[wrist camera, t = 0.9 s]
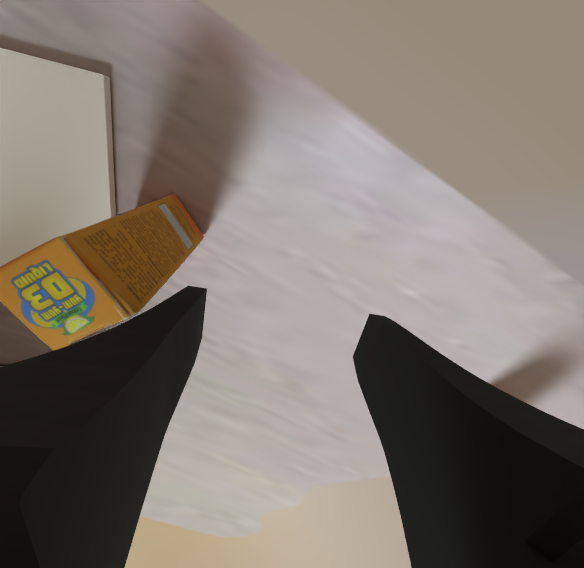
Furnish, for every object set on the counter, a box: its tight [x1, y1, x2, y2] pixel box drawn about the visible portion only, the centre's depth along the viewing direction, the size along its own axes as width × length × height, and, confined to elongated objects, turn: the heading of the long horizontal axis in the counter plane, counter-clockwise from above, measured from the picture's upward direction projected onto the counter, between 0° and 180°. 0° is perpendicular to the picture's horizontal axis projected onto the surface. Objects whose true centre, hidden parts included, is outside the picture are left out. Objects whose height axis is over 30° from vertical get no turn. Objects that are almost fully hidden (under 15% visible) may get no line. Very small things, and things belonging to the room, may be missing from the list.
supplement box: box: [0, 193, 204, 351], centre depth 13 cm, size 3×3×10 cm
